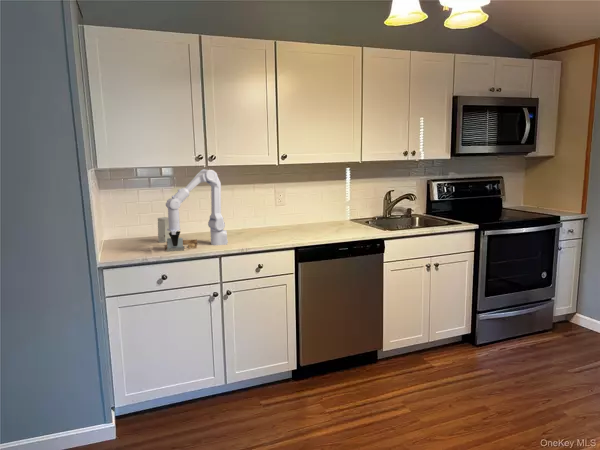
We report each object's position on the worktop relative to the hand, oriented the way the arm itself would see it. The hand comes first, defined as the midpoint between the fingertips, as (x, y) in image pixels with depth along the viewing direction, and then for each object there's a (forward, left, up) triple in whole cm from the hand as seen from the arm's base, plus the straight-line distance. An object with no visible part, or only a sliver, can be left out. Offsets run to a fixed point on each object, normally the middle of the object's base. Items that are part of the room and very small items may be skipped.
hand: (175, 245), depth 245 cm
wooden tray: (-3, -9, -4) cm, 10 cm away
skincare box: (+7, -29, -4) cm, 30 cm away
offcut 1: (-8, -11, -4) cm, 14 cm away
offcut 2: (-8, -6, -3) cm, 11 cm away
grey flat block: (0, 0, -3) cm, 3 cm away
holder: (0, 0, -4) cm, 4 cm away
